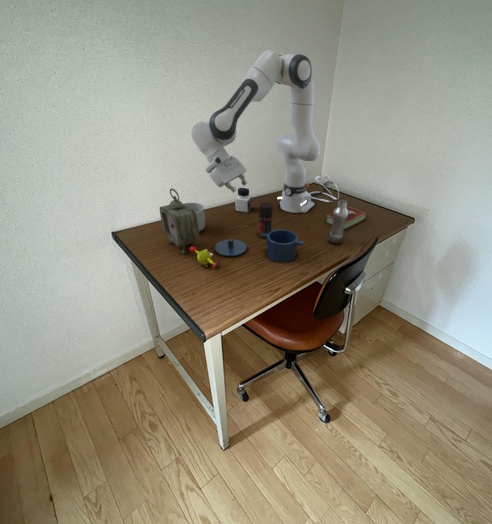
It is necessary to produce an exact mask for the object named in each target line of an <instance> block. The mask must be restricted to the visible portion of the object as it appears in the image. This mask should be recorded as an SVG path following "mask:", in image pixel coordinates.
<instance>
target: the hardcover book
mask: <svg viewBox="0 0 492 524" xmlns="http://www.w3.org/2000/svg"><path fill="white" fill-rule="evenodd" d="M346 209H347V211H348V216H347V219H346V221H345V225H344V230H343V231H346V230H348V229H349V228H351V227H353V226H355V225H357V224H359V223H361V222H363V221H365V220H366V219H365V218H366V217H365V216H366V215H367V212H364V211H362V210H360V209H357V208H355V207H351V206H347V207H346ZM325 223H326V224H328V225H331V226H332V224H333V212H332V213H330V214H327V215H326V216H325Z"/></svg>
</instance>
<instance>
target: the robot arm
mask: <svg viewBox="0 0 492 524" xmlns="http://www.w3.org/2000/svg"><path fill="white" fill-rule="evenodd" d="M312 71H313V69H312V63H311V60H310V59H309V58H308V56H306V55H304V54H301V53H287V54H278V53H277V52H276V51H275V50H273V49H266V50H265V51H263V52H262V53H261V54H260V55H259V56H258V57H257V58H256V59H255V60H254V62H253V63H252V65H251V66H250V67H249V69H248V70H247V72H246V73H245V75H244V77H243V79H242V81H241V82H240V85H239V87H238V88H237V89H236V91H235V92H234V93H233V95H232V96H231V98H230V99H229V100H228V101H227V102H226V104H225V105H224V106H223V107H221V108H220V109H218V110H216V111H215V112H213V113H212V114H211V116H210V117H209V120H208V121H199V122H197V123H196V124H195V125H194V126H193V127H192V129H191V132H190V134H191V135H190V136H191V139H192V141H193V142H194V144H195V145H196V147H197V148H198V150H199V151H200V153H202V154H203V155H204V156H205V158H206V160H207V162H208V164H207V165H206V167H205V168H204V171H205V172H206V173H207V174H209V177H210V179H211V180H212V181H213V183H214V184H215V185H216V186H217V187H219V188H222V187H223V186H225V188H227V189H228V190H230V191H231V192H232V193H235V192H236V191H238V188H237V187H236V186H233V184H232V183H231V182H233V181H234V180H236V179H237V178H239V179H240V180H241V185H242V186H247V184H248V181H247V180H246V176H245V173H246V172H247V168H246V167H245V166H244V164H243V162H241V161H240V160H239V159H238V158H236V157H235V156H233V155H230V154H229V152H228V151H227V150H226V148H225V147H226V146H229V145H230V144H232V143H234V142H235V140H236V138H237V124H238V121H239V119H240V118H241V116H242V115H243V113H244V112H245V110H246V109H247V108H248V106H249V105H250V104H251V103H253V102H257V103H258V102H262V101H263V100H264V98H266V96H268V94H270V92H271V90H272V89H273V87H274V86H275V84H278V85H283V86H289V87H290V104H289V115H288V116H289V117H288V118H289V119H288V120H289V123H290V125H291V126H292V127H293V130H294V132H295V133H292V132H290V133H289V132H286V133H285V132H284V133H282V134H281V135H279V137H278V139H277V142H276V147H277V150H278V151H279V153H280V155H281V157H282V160H283V163H284V164H283V165H284V169H285V172H284V175H285V176H284V183H283V190H282V192H281V196H278V197H277V200H280V201H279V208H280V209H281V210H283V211H284V212H287V213H292V214H293V213H297V214H298V213H302V214H306V213H307V212H309V210H311V209H312V208H313V207H314V206H315V202H313V201H312V198H311V197H314V196H317V195H320V194H322V192H323V193H326V191H327V189H326V188H327V186H326V185H327V184H329V183H331V184H334V183H333V182H334V181H333V182H330V181H331V180H329V181H326V182H324V183H323V187H324V186H325V187H326V188H325V187H324V190H322V191H318V192H319V193H312V195H311V194H309V193H310V192H308V191H307V188H309V183H306V175H307V170H306V168H305V166H304V165H303V164H302V161H304V162H313V161H316V160H317V159H318V158H319V156H320V154H321V145H320V142H319V141H318V140H317V138H316V136H315V133H314V127H313V112H314V104H315V83H314V80H313V78H312V77H313V76H312V74H313V72H312Z"/></svg>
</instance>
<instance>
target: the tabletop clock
mask: <svg viewBox="0 0 492 524" xmlns="http://www.w3.org/2000/svg"><path fill="white" fill-rule="evenodd" d="M172 191H173V192H174V193H175V194H176V195H173V194H172ZM169 194H170V196H171V198H172V199H173V200H171V201H170V202H169V204H167V205H162V206H159V215H160V221H161V225H162V229H163V233H164V236H166V238H167V239H168V240H169V243H170V244H173V245H175V246H176V247H181V246H182V250H181V254H182V255H185V254H186V253H187V251H186V249H185V248H186V246H190V244H191V243H194V242H197V240H198V239H199V238H200V232H199V228H198V221H197V216H196V213H195V212H194V210H192V209H191V208H190V207H188V206H187V205H185V204H183V202H182V201H181V200H180V195H179V193H178V191H177V190H176V189H175V188H170V189H169Z"/></svg>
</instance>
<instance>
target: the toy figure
mask: <svg viewBox="0 0 492 524" xmlns="http://www.w3.org/2000/svg"><path fill="white" fill-rule="evenodd" d="M188 251H190V252H191V253H195V254H196V259H197V261H198V263H200V264H201V265H202V266H205V268H209V267H210V265H209V264H211V265H212V267H213V269H215V270H219V269H220V268H221V263H219V262H216V261H215V262H214V261H213V260H212V258H213V256H214V254H213V253H212V252H210V251H209V250H208V249H206V248H205V249H202V250H200V251H199V250H197V247H196V246H195V245H191V246H189V249H188Z"/></svg>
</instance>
